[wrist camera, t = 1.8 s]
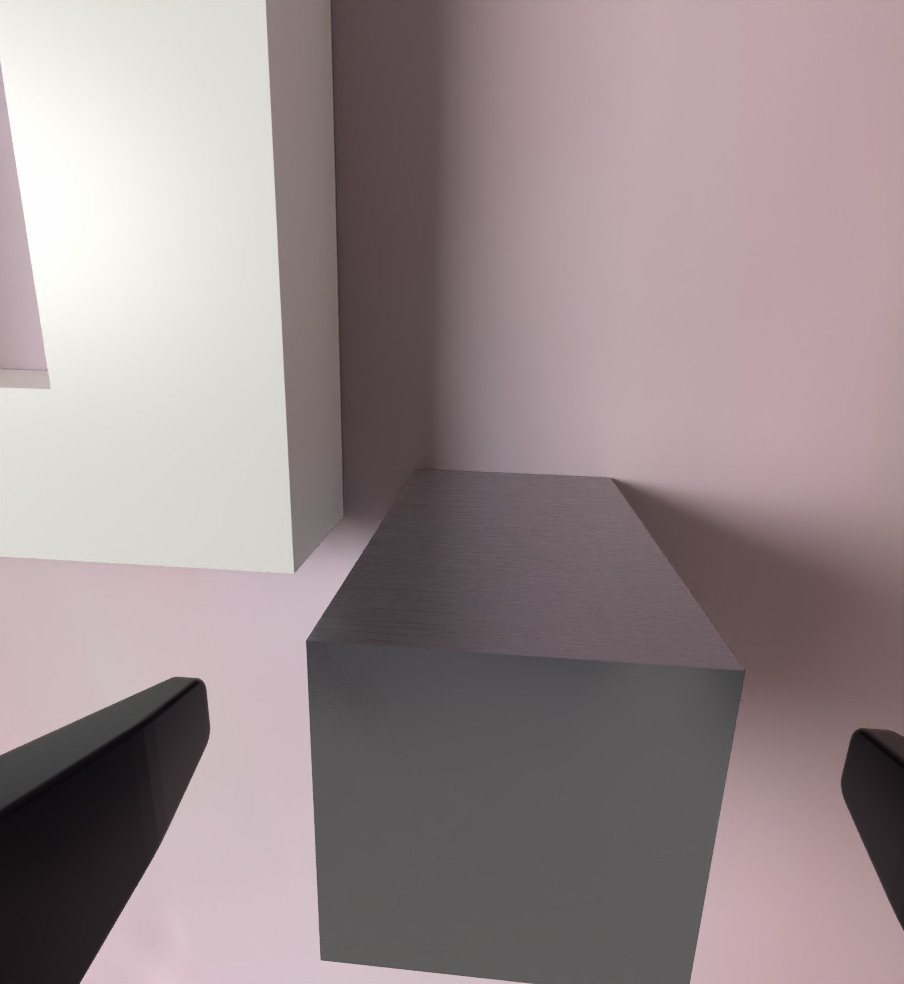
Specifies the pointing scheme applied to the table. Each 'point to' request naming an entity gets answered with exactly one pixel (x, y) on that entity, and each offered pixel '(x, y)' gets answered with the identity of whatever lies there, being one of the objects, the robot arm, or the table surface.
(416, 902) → the dark grey square post
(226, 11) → the square frame
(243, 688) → the table surface
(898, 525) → the table surface
